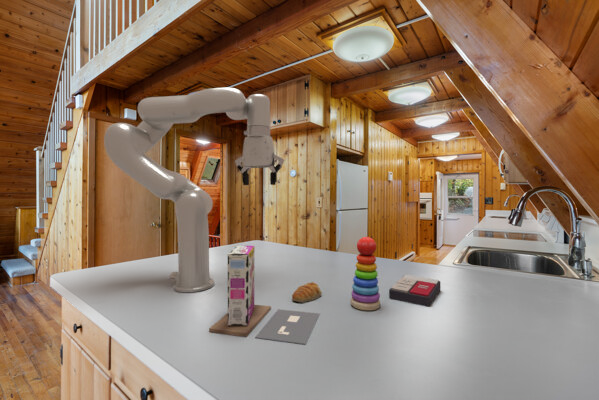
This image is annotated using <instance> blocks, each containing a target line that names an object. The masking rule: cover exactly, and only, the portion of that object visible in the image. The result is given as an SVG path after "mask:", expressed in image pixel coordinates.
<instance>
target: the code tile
mask: <svg viewBox="0 0 599 400" xmlns="http://www.w3.org/2000/svg"><path fill="white" fill-rule="evenodd" d="M319 316H320V313H319V312H307V311H297V310H290V309H279V308H277V310H276V312H275V313H274V314H273V315H272V316H271V317H270V318H269V320H268V321H267V322H266V324H265V325H264V326H263V327H262V328H261V329H260V331H259V332H258V333H257V334H256V335H255V337H254V338H255V339H259V340H267V341H274V342H283V343H290V344H297V345H306V344H307V342H308V340H309V338H310V336H311V334H312V332H313V329H314V327H315V325H316V322H317V321H318V320H319V319H318V318H319Z"/></svg>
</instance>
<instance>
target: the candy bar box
mask: <svg viewBox="0 0 599 400" xmlns="http://www.w3.org/2000/svg"><path fill="white" fill-rule="evenodd" d="M254 305H255V245H236V246H235V247H234V248H233V249H231V251H230V252H229V253H227V313H228V326H248V324H249V321H250V318H251V315H252V312H253V309H254Z"/></svg>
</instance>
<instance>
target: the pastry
mask: <svg viewBox="0 0 599 400" xmlns="http://www.w3.org/2000/svg"><path fill="white" fill-rule="evenodd" d="M322 294H323V292H322V290H321V288H320V287H319V285H318V283H316V282H307V283H305V284H302V285H299V286H298V287H297V288H296V290H295V291H293V293H292V295H291V298H292V299H291V300H292V301H294V302H298V303H303V304H304V303H307V302H312V301H315V300H316V299H318V298H320V297H321V296H322Z"/></svg>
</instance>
